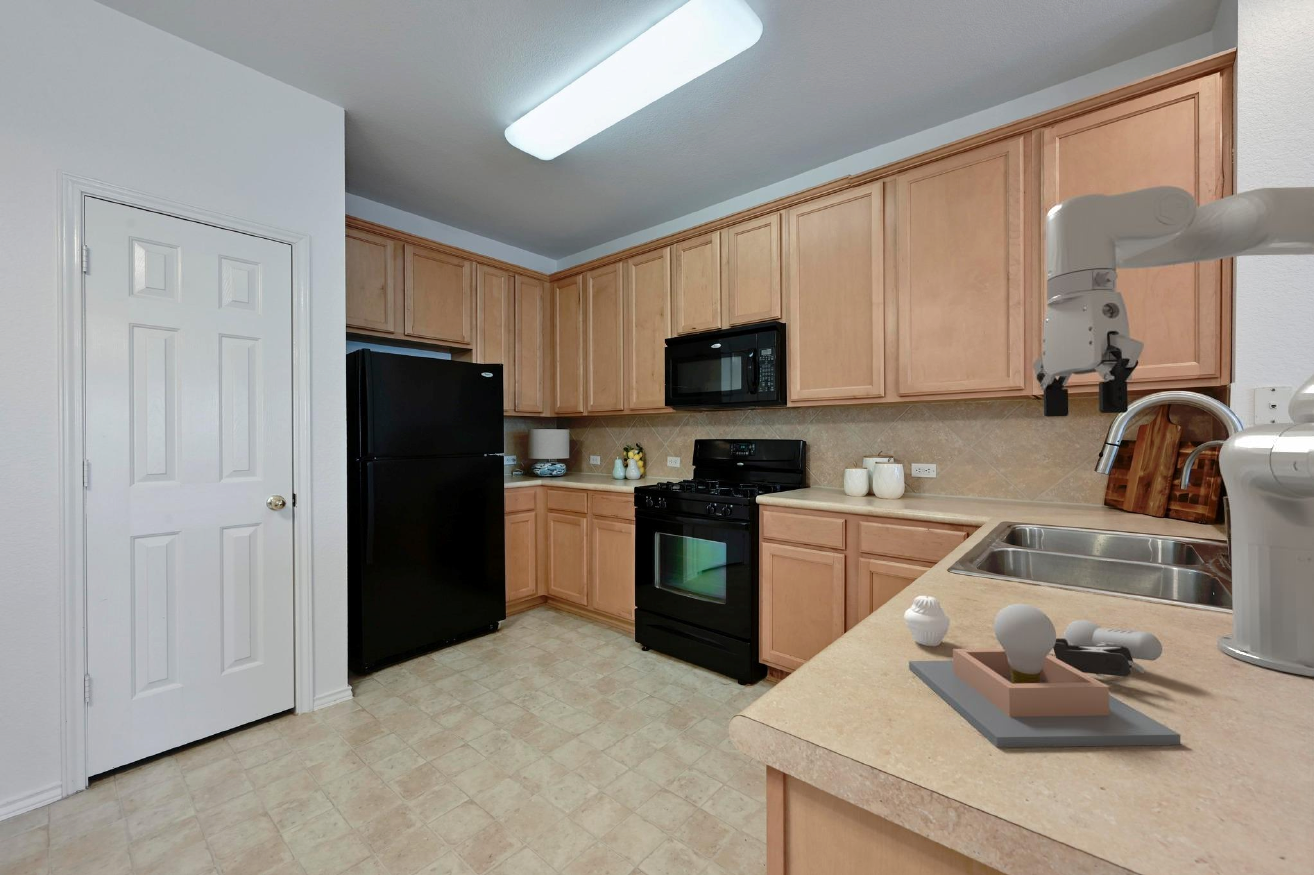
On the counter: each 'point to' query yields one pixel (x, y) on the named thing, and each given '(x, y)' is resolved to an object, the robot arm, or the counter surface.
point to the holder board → (1037, 704)
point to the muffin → (927, 621)
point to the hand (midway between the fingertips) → (1082, 414)
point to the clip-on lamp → (1105, 649)
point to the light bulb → (1025, 640)
